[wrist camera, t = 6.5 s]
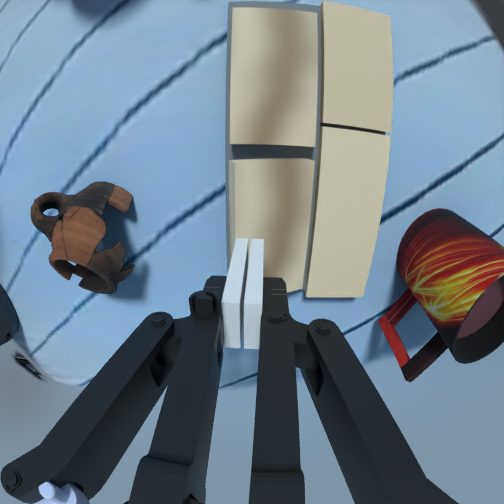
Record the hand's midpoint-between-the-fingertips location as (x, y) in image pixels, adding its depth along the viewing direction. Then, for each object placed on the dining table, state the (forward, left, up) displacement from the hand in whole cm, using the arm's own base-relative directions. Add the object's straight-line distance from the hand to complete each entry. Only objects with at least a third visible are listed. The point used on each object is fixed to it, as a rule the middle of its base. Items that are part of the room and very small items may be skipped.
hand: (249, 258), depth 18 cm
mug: (+19, -5, -8) cm, 21 cm away
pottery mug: (-16, 0, -8) cm, 18 cm away
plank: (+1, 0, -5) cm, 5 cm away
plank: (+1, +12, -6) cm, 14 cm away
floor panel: (+4, +6, -8) cm, 11 cm away
